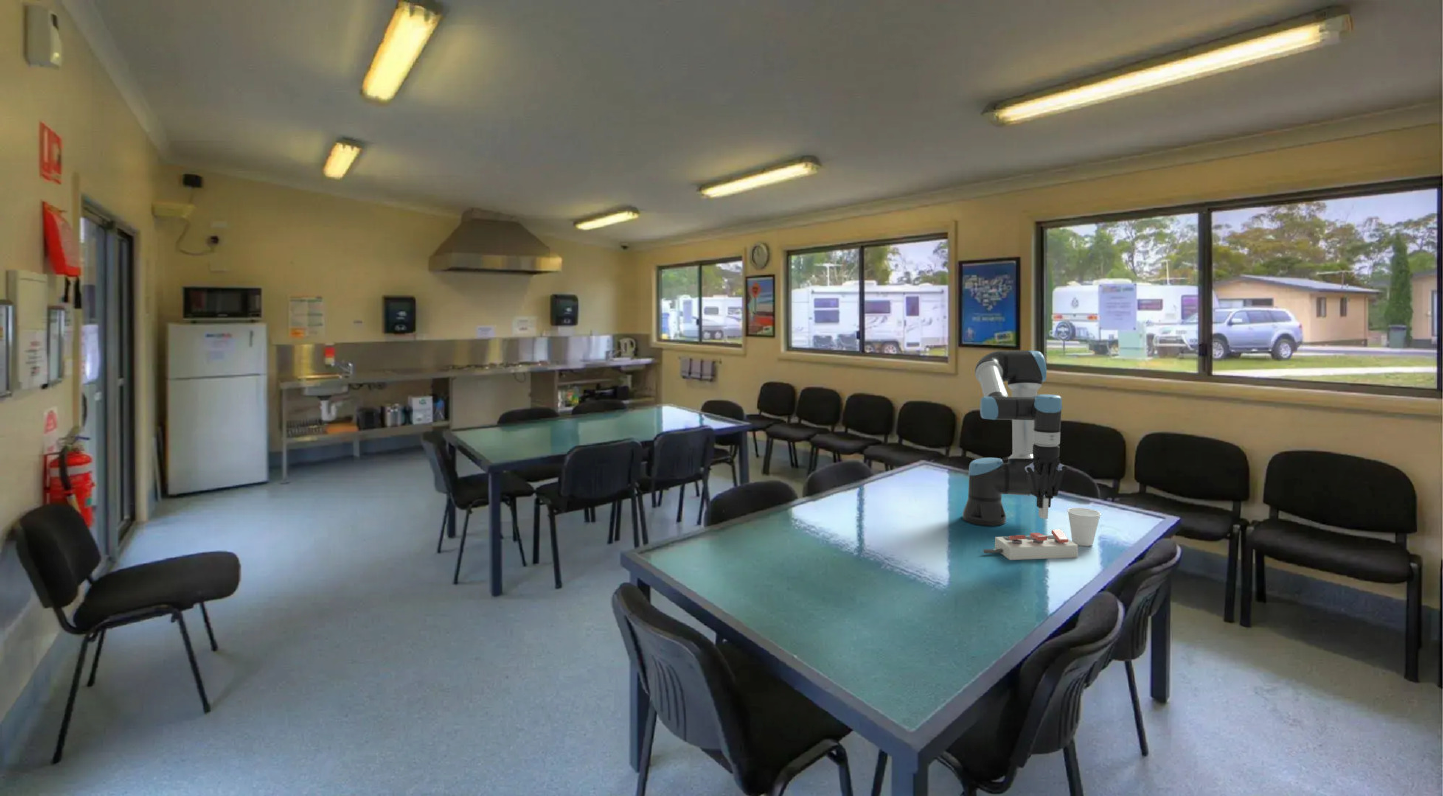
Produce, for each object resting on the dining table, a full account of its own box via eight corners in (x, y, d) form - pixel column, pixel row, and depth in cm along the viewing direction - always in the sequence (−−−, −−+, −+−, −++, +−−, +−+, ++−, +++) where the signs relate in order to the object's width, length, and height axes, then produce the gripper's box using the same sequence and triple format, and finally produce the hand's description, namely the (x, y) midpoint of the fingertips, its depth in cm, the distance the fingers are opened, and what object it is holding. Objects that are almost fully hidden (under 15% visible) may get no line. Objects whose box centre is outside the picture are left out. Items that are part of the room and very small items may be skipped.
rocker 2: (1030, 536, 210) (1030, 532, 210) (1038, 536, 210) (1038, 532, 210) (1038, 540, 205) (1038, 536, 205) (1047, 540, 205) (1047, 536, 205)
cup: (1104, 549, 211) (1105, 516, 210) (1071, 547, 213) (1072, 515, 212) (1093, 539, 221) (1094, 507, 220) (1061, 537, 223) (1063, 506, 222)
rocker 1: (1009, 539, 209) (1008, 535, 210) (1017, 539, 209) (1017, 535, 210) (1016, 539, 204) (1016, 535, 205) (1025, 539, 204) (1024, 534, 205)
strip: (977, 549, 214) (977, 534, 213) (1059, 546, 215) (1060, 531, 214) (991, 560, 204) (991, 545, 203) (1077, 557, 205) (1078, 542, 204)
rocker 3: (1051, 532, 210) (1052, 529, 209) (1059, 532, 210) (1060, 529, 210) (1059, 542, 206) (1060, 539, 205) (1067, 542, 206) (1068, 539, 205)
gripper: (1032, 447, 197) (1029, 521, 200) (1073, 446, 198) (1070, 520, 201) (1019, 442, 205) (1017, 514, 208) (1059, 441, 205) (1056, 512, 208)
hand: (1043, 517), depth 204 cm, fingers closed
